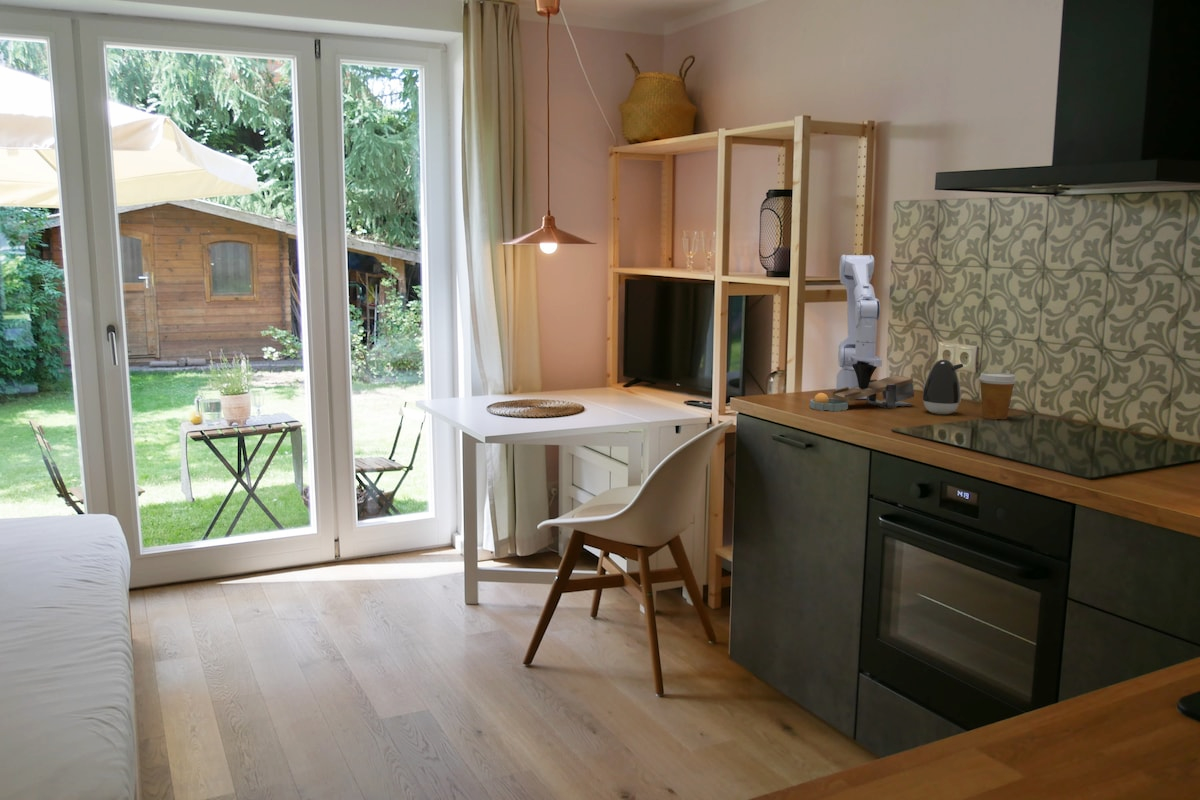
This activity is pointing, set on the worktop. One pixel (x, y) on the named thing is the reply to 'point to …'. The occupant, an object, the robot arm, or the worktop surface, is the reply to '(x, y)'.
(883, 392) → the lever
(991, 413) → the disposable coffee cup
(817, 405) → the dish
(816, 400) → the ball
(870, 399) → the lever stand
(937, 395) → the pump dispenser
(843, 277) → the robot arm
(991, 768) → the worktop surface
